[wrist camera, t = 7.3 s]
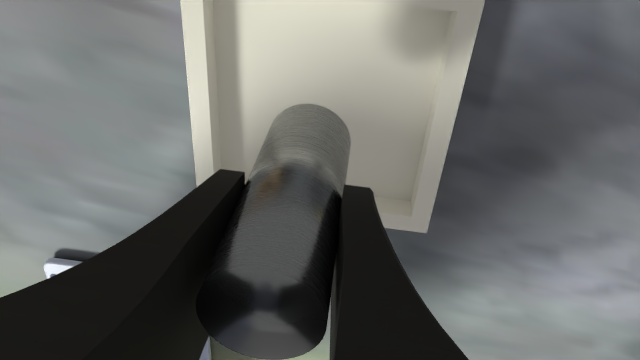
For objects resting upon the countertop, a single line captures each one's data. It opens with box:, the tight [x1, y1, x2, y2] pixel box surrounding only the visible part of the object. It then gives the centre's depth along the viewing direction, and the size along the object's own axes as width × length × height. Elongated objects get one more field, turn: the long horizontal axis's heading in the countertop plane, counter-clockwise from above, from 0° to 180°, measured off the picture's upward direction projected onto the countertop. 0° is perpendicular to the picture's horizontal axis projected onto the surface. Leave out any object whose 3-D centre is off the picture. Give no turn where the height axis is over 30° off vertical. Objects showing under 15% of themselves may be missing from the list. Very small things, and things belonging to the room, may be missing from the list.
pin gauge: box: [196, 104, 351, 360], centre depth 11 cm, size 2×2×6 cm
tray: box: [180, 0, 485, 233], centre depth 17 cm, size 9×9×2 cm
